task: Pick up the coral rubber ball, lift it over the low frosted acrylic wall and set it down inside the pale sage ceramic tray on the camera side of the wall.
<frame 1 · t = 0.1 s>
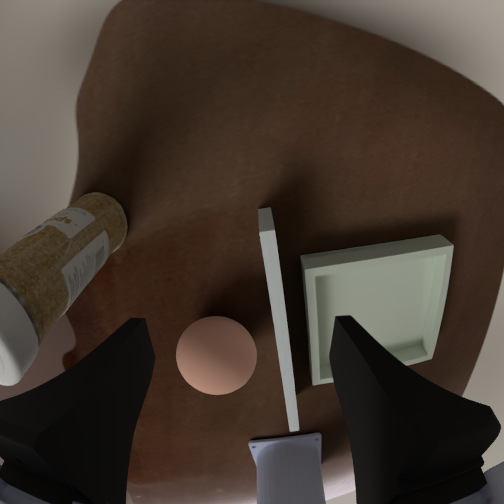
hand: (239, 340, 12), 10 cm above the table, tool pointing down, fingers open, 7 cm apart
spice bottle: (101, 221, 20), on the table
tray: (373, 308, 23), on the table
acrylic wall: (281, 323, 23), on the table
ball: (216, 355, 21), point 3 cm above the table
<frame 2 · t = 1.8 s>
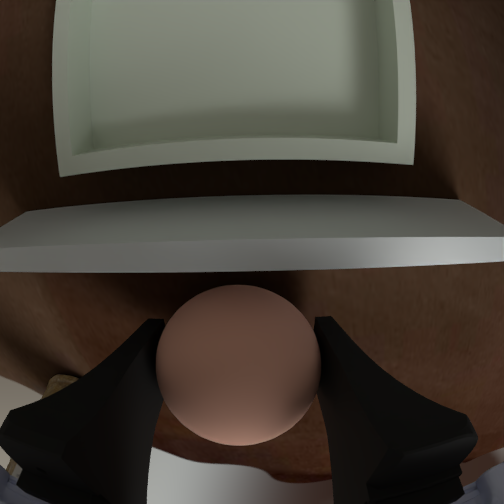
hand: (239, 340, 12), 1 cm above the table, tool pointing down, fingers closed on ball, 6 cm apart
spice bottle: (83, 395, 16), on the table
tray: (229, 2, 8), on the table
acrylic wall: (235, 206, 11), on the table
ball: (238, 365, 10), point 3 cm above the table, touching gripper
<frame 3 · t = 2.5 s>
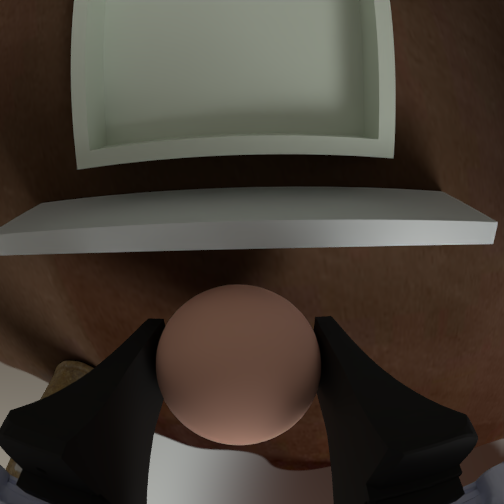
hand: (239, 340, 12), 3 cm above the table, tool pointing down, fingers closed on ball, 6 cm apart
spice bottle: (89, 381, 17), on the table
tray: (229, 14, 9), on the table
acrylic wall: (235, 197, 12), on the table
ball: (238, 365, 10), point 4 cm above the table, touching gripper
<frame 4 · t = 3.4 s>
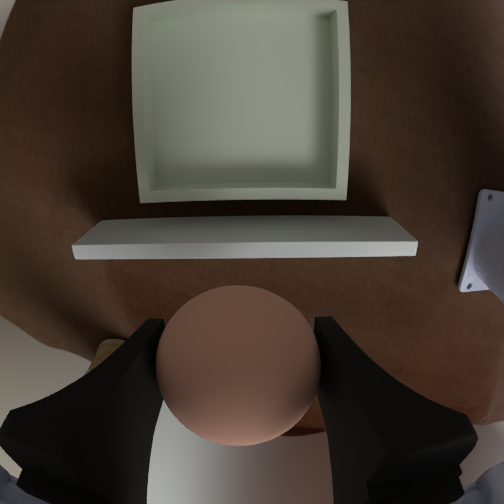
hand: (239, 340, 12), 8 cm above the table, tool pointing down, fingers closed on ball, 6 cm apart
spice bottle: (124, 356, 23), on the table
tray: (241, 95, 16), on the table
acrylic wall: (243, 222, 19), on the table
ball: (238, 366, 10), point 10 cm above the table, touching gripper
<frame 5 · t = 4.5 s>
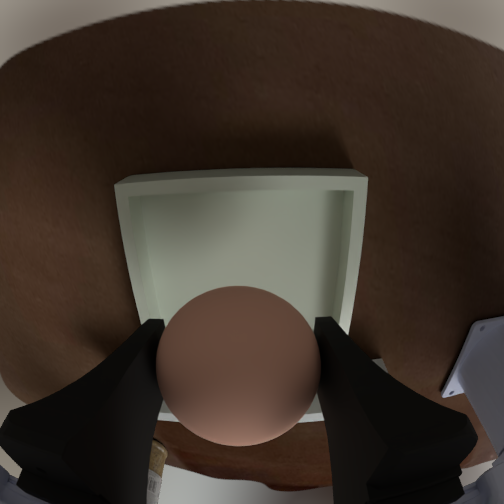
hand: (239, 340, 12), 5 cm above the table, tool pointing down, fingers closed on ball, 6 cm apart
spice bottle: (145, 444, 25), on the table
tray: (244, 272, 17), on the table
acrylic wall: (248, 371, 20), on the table
ball: (238, 366, 10), point 7 cm above the table, touching gripper
when the fingers open (3 cm above the table, at t = 5.4 s): ball drops 1 cm, resting on tray.
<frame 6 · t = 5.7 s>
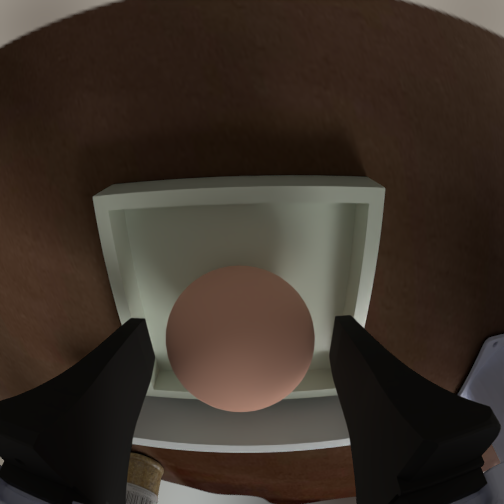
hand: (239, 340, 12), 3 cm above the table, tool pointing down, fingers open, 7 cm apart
spice bottle: (141, 460, 23), on the table
tray: (242, 292, 15), on the table
acrylic wall: (247, 394, 18), on the table
ball: (240, 339, 12), point 3 cm above the table, touching tray
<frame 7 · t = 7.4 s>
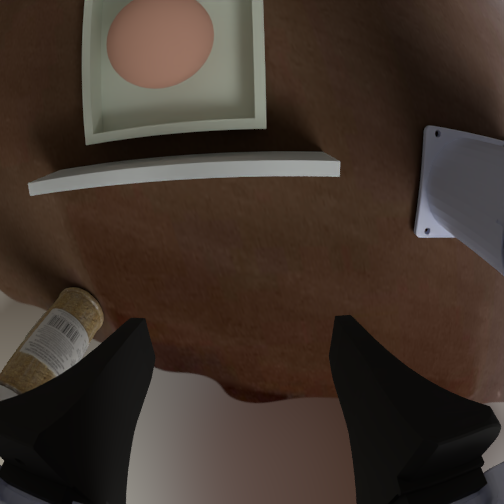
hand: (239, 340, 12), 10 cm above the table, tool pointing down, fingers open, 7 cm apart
spice bottle: (83, 307, 24), on the table
tray: (174, 50, 16), on the table
acrylic wall: (178, 161, 19), on the table
ball: (159, 39, 13), point 3 cm above the table, touching tray
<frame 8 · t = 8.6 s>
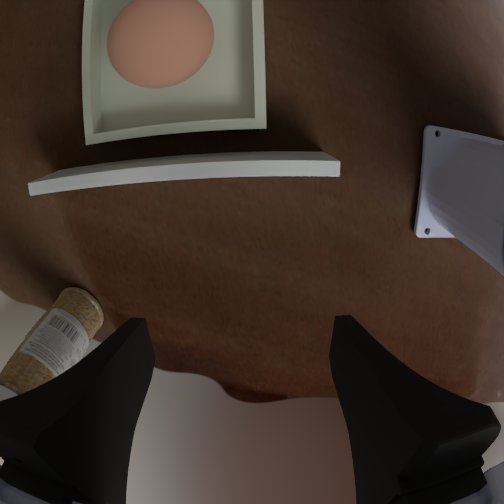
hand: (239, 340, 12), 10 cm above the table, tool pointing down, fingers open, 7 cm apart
spice bottle: (83, 307, 24), on the table
tray: (174, 49, 16), on the table
acrylic wall: (178, 161, 19), on the table
ball: (160, 38, 13), point 3 cm above the table, touching tray
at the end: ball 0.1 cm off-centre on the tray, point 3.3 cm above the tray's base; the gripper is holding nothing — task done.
